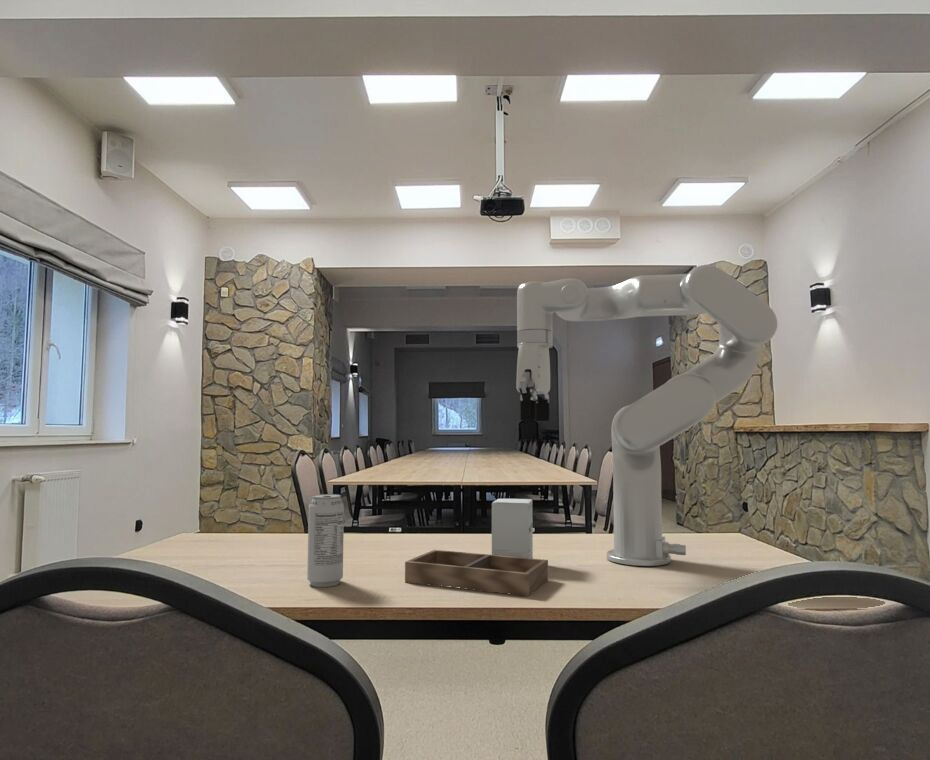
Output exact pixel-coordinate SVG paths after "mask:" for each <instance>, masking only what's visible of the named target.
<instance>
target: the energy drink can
mask: <svg viewBox="0 0 930 760" xmlns="http://www.w3.org/2000/svg"><path fill="white" fill-rule="evenodd" d="M311 497H312V500H311V501H310V502H309V504H308V523H307V524H308V525H307V534H308V535H307V567H306V568H307V573H306V574H307V580H308V581H309V582H310V584H309V585H310V586H311V587H315V588H329V587H335V586H337V585H339V584H340V582H341V580H342V579H343V578H344V537H345V536H344V529H345V527H344V526H345V525H344V524H345V523H344V522H345V518H344V517H345V505H344V503H343V501H342V498H341V494H335V493H332V494H331V493H330V494H329V493H328V494H327V493H326V494H315V495H312V496H311Z"/></svg>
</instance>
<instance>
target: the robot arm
mask: <svg viewBox="0 0 930 760" xmlns="http://www.w3.org/2000/svg"><path fill="white" fill-rule="evenodd" d="M516 309H517V310H516V317H517V318H516V321H517V322H516V324H517V325H516V331H517V332H516V334H517V335H516V337H517V339H516V341H517V343H516V345H517V346H516V347H517V348H518V351H517V352H518V353H517V361H516V363H517V364H516V384H515V385H516V390H517V392H518V393H520V396H519V399H520V400H519V401H520V421H521V422H522V421H531V422H532V421H537V422H548V421H550V396H549V395H550V390H551V362H550V358H551V357H550V350H549V349H551V348H553V347H554V346H553V345H554V344H553V341H554V339H553V314H555V313H556V315H557V316H558V317H559V318H560V319H562V320H564V321H568V322H597V321H598V322H599V321H601V322H602V321H611V320H619V319H621V320H622V319H633V318H637V317H639V318H641V317H661V316H662V317H665V316H666V317H667V316H668V317H669V316H671V317H672V316H695V315H697V316H698V315H703V314H706V315H708V316H710V317H709V318H712V320H714V321H715V322H716V323H718V324H719V329H718V347H717V348H716V350H715V351H714V353H713V354H711V355H710V356H708V357H706V358H705V359H703V360H702V361H701V362H699V363H698V364H696V365H695V366H693V367H692V368H689V369H688V370H686V371H685V372H683V373H680V374H678V375H675V376H673V377H672V378H670V379H668V380H667V381H666V382H665V383H663V384H661V385H660V386H659V387H657V388H655V389H653V390H652V391H650V392H649V393H647V394H646V395H644V396H642V397H641V398H639V399H637V400H636V401H634V402H632V403H631V404H627V405H626V406H624V407H622V408H620V409H619V410H618V411H617V412H616V414H615V415H614V417H613V419H612V423H611V429H610V431H611V433H610V435H611V437H610V438H611V452H612V477H613V478H612V479H613V480H612V482H613V483H612V487H613V489H612V491H613V492H612V493H613V501H612V502H613V547H614V548H613V549H611V550H610V549H609V550H607V552H606V559H607V560H609V561H611V562H613V563H617V564H620V565H621V564H622V565H628V566H635V567H636V566H638V567H656V566H657V567H658V566H663V565H668V564H670V563H671V561H672V556H671V555H672V554H673V555H676V556H686V555H687V545H685V544H680V543H669V542H667V541H666V536H663V512H662V511H663V510H662V507H663V506H662V465H661V463H662V462H661V448H660V446H663V445H664V444H666V443H667V442H670V440H673V439H674V438H676V437H677V436H679V435H681V434H682V433H684V432H686V431H687V430H688V429H691V428H692V427H694V426H695V425H697V424H699V423H700V422H701V421H703V420H704V419H705V418H707V417H708V416H710V414H711V412H713V409H714V408H715V405H716V404H717V403H718V402H720V401H722V400H723V399H725V398H726V397H728V396H729V395H730V394H733V393H734V392H735V391H737V390H738V389H740V388H741V387H742V386H743V385H745V384H746V383H747V382H748V381H749V380H750V379H751V378H752V376H753V375H754V373H755V371H756V369H757V366H758V364H759V360H760V359H759V358H760V351H761V350H760V347H761V346H763V345H765V344H766V343H768V342H769V341H771V340H772V339H773V337H774V336H775V334H776V332H777V329H778V320H777V316H776V313H775V311H774V310H773V309H772V308H771V307H770V305H769V304H768V303H766V302H765V301H764V300H763V299H761V298H760V297H759V296H758V295H756V294H754V293H753V292H752V291H751V290H749V289H748V288H747V287H745V286H744V284H742V283H740V282H739V281H738V280H737V279H735V278H734V277H733V276H731V274H729V273H727V272H726V271H725V270H723V269H721V268H719V267H717V266H715V265H711V264H703V265H699V266H696V267H694V268H692V269H691V270H690V271H689V272H688V273H679V274H678V273H675V274H672V273H671V274H652V275H650V274H647V275H646V274H645V275H638V276H634V277H631V278H628V279H626V280H624V281H622V282H620V283H616V284H614V285H609V286H604V287H603V286H602V287H591V288H590V287H589V288H588V287H587V285H586V284H585V283H584V282H583V281H582V280H581V279H578V278H573V277H572V278H570V277H569V278H562V279H558V280H551V281H546V282H544V281H527V282H524V283H521V284H520V285H519V286H518V288H517V291H516Z"/></svg>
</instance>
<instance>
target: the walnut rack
mask: <svg viewBox="0 0 930 760" xmlns="http://www.w3.org/2000/svg"><path fill="white" fill-rule="evenodd" d="M548 581H549V560H548V559H544V558H543V559H541V558H522V557H511V556H499V555H492V554H489V553H488V554H486V553H476V552H475V553H474V552H466V551H465V552H463V551H453V550H444V549H443V550H442V549H432V550H431V551H427V552H425V553H424V554H421V555H418V556H416V557H413V558H411V559H408V560H406V561H404V583H407V582H408V584H416V583H419V584H418V585H424V584H430V585H429V586H433V585H440V586H439V587H442V586H451V587H460V588H467V589H466V590H468V589H475V590H474V591H476V590H482V591H481V592H485V591H490V592H489V593H494V592H500V593H499V594H502V593H510V594H509V595H511V594H516V595H515V596H520V595H525V596H524V597H529V596H531V595H532V594H533V593H534V592H536V591H537V590H538V589H539V588H540V587H542V586H543V585H544V584H545V583H546V582H548ZM441 585H442V586H441ZM536 589H537V590H536ZM532 592H533V593H532ZM531 593H532V594H531Z"/></svg>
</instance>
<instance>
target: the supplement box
mask: <svg viewBox="0 0 930 760" xmlns="http://www.w3.org/2000/svg"><path fill="white" fill-rule="evenodd" d="M533 526H534V524H533V499H530V498H497V499H496V500H494V501H492V503H491V555H499V556H511V557H522V558H533V555H534V554H533V551H534V549H533V546H534V545H533V537H534V536H533V534H534V532H533V531H534V529H533ZM533 559H534V558H533Z"/></svg>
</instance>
